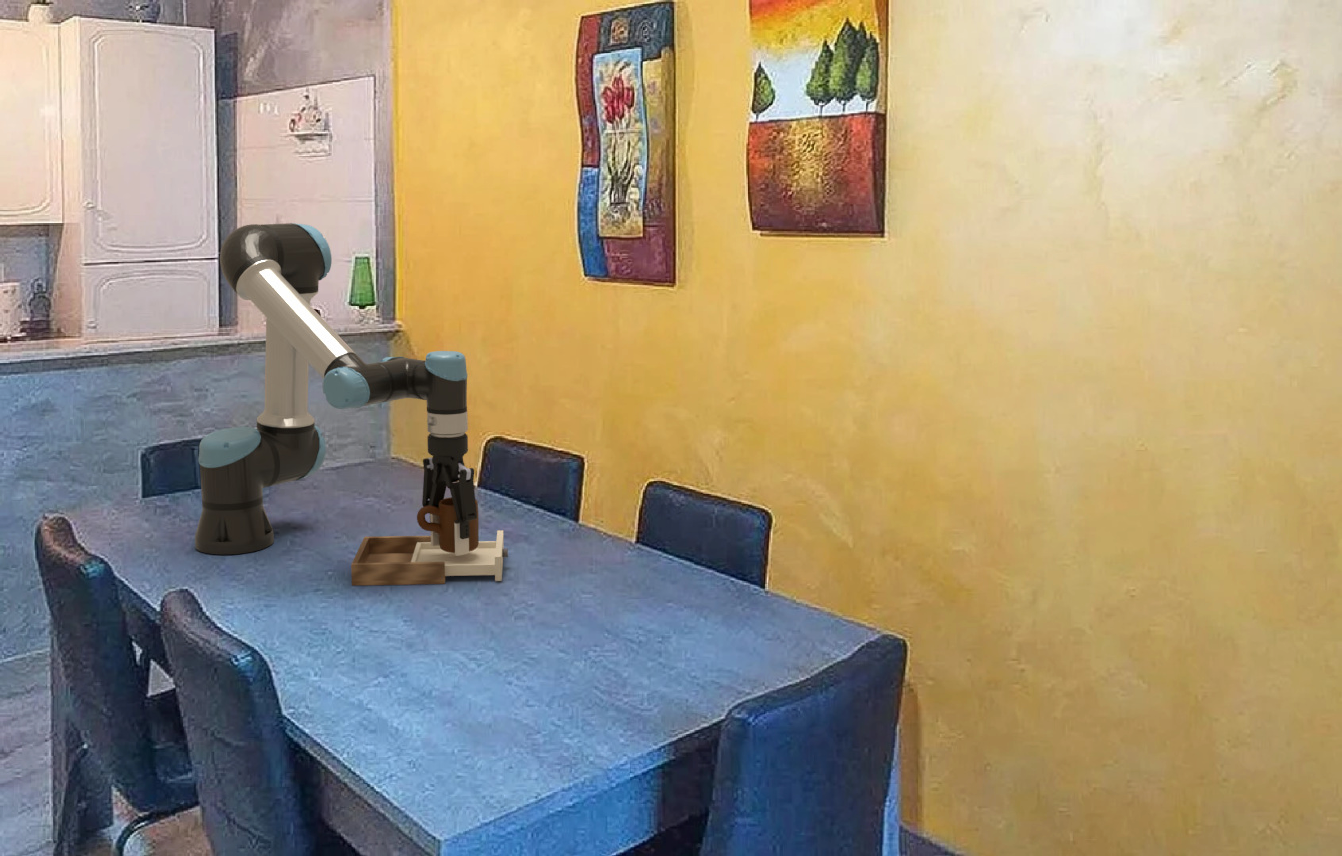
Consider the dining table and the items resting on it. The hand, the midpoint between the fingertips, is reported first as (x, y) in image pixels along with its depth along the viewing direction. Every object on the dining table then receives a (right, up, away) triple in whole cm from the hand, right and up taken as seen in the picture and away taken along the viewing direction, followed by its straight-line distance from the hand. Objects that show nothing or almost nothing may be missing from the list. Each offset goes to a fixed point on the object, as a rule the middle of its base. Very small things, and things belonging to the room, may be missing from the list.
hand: (449, 549), depth 232 cm
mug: (0, 0, +1) cm, 1 cm away
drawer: (+2, -4, +1) cm, 4 cm away
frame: (-8, -4, 0) cm, 9 cm away
